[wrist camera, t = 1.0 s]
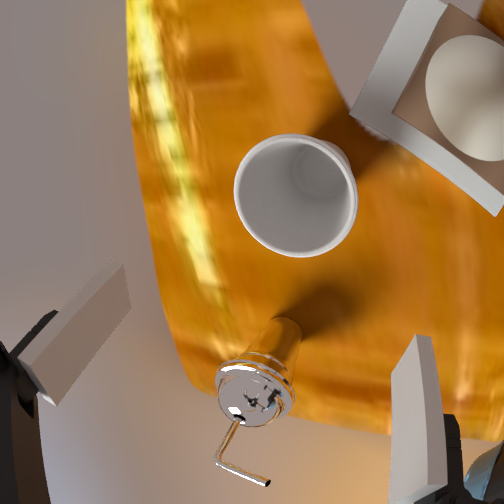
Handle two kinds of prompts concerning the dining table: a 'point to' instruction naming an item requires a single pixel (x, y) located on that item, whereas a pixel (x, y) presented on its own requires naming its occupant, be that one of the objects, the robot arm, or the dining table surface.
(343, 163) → the dixie cup
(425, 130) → the brown block
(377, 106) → the board
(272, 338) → the cup with straw
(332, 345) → the dining table surface
